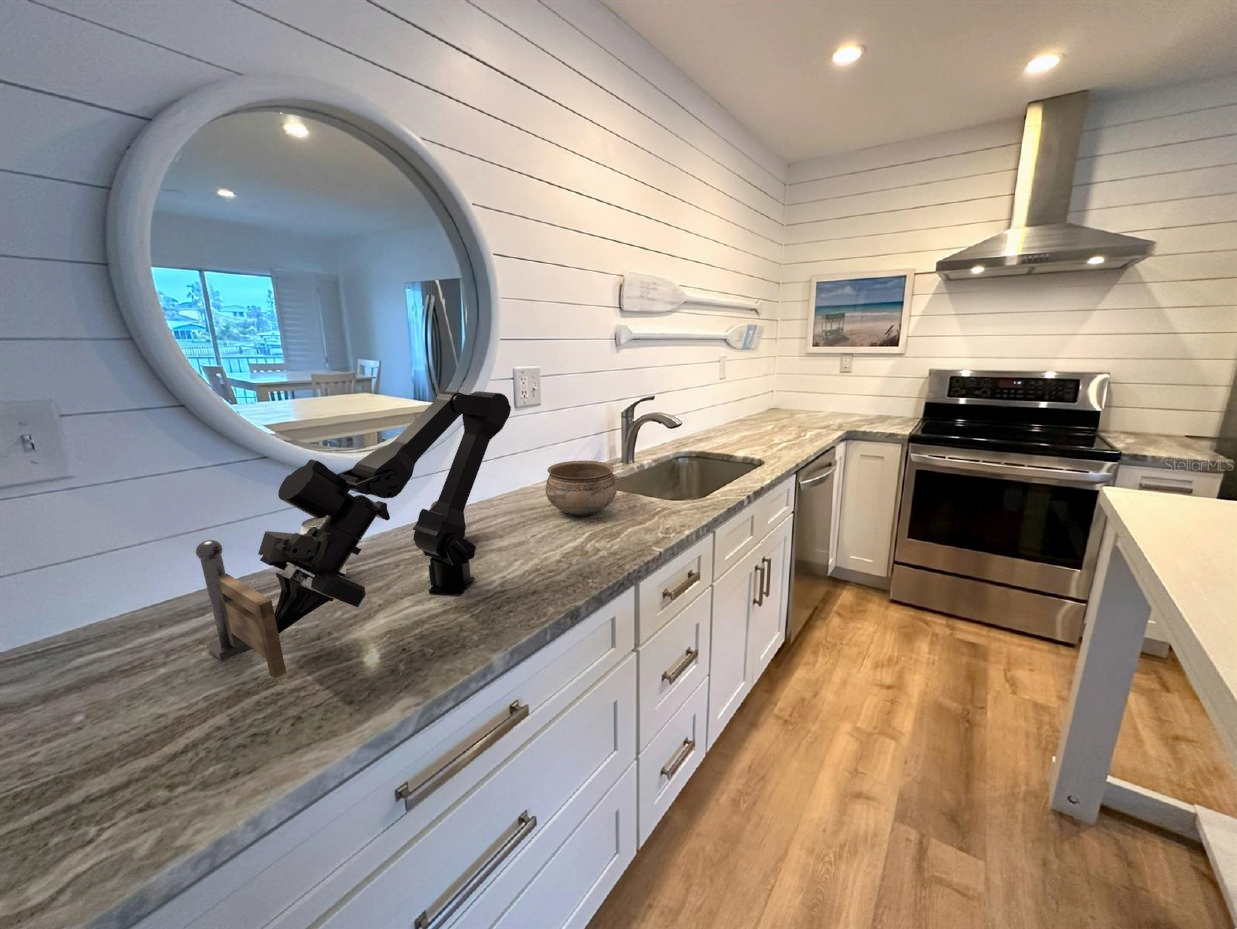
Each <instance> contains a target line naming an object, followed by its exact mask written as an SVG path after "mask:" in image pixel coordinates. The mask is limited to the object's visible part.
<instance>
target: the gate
mask: <svg viewBox="0 0 1237 929" xmlns="http://www.w3.org/2000/svg"><path fill="white" fill-rule="evenodd" d="M225 573H226V572H225ZM215 580H216V584H217V588H218V593H219V597H220V601H221V606H222V610H223V614H224V619H225V623H226V627H227V631H228V636H229V640H230V644H231V645H232V646H233V647H237V646H240V645H242V644H244V643H246V644H247V645H249V646H250V647H251V648H250V649H253V650H254V651H255V652H257V653H258V654H259V655H261V656H262V657H263V658H265V659H266V663H267V668H268V672H269V675H270V676H271V677H272V678H273V679H278V678H280V677H281V676H283V675H285V674H287V670H286V666H285V665H286V664H285V660H284V654H283V650H282V645H281V639H280V633H279V634H278V629H277V624H276V619H275V611H274V606H273V600H272V599H270V598H268V597H266V596H265V595H263V594H262V593H260V592H258V591H256V590H255V589H253V588H252V587H250V586H248V585H247V584H245V583H243V582H241V581H240V580H238V579H237V578H235V577H234V576H232V575H230V574H229V573H226V574H223V575H220V576H217V577H215Z"/></svg>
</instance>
